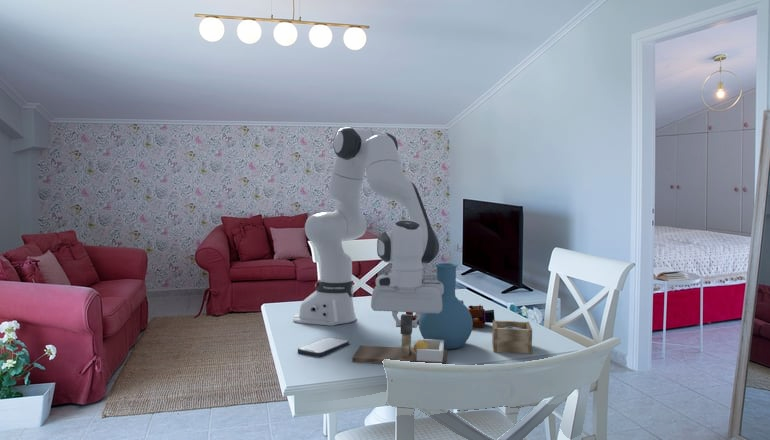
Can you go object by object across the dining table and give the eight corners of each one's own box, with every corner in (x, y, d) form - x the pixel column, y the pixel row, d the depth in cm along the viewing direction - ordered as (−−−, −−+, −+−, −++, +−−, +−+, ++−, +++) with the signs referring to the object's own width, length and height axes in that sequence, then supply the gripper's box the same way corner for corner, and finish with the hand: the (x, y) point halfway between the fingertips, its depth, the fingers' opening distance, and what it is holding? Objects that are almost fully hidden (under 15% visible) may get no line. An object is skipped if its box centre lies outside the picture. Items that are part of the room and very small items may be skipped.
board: (352, 361, 163) (352, 357, 163) (359, 349, 174) (360, 345, 174) (445, 366, 159) (445, 362, 159) (447, 353, 171) (447, 349, 171)
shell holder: (493, 351, 173) (494, 328, 172) (492, 342, 183) (492, 320, 182) (531, 353, 171) (532, 330, 171) (528, 344, 181) (528, 321, 181)
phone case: (327, 341, 184) (295, 354, 171) (327, 336, 184) (295, 348, 170) (350, 346, 180) (320, 359, 166) (350, 341, 180) (320, 353, 166)
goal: (416, 360, 160) (416, 349, 160) (419, 348, 171) (420, 338, 171) (442, 361, 159) (442, 351, 159) (443, 350, 170) (444, 339, 170)
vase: (471, 338, 187) (472, 261, 185) (473, 354, 171) (474, 269, 169) (419, 336, 189) (420, 259, 187) (416, 351, 173) (417, 268, 171)
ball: (429, 354, 163) (416, 358, 164) (430, 349, 167) (417, 354, 168) (424, 340, 163) (411, 345, 164) (425, 336, 167) (412, 341, 168)
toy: (413, 300, 221) (494, 297, 214) (415, 318, 222) (496, 316, 215) (399, 317, 195) (491, 313, 189) (401, 337, 196) (493, 335, 189)
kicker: (399, 356, 164) (400, 317, 163) (402, 350, 170) (402, 312, 169) (410, 357, 163) (410, 318, 162) (412, 350, 169) (412, 313, 168)
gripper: (444, 278, 166) (443, 325, 167) (373, 275, 169) (373, 322, 170) (443, 282, 160) (442, 331, 161) (370, 279, 163) (369, 328, 164)
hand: (406, 327), depth 166 cm, fingers closed on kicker, 3 cm apart
